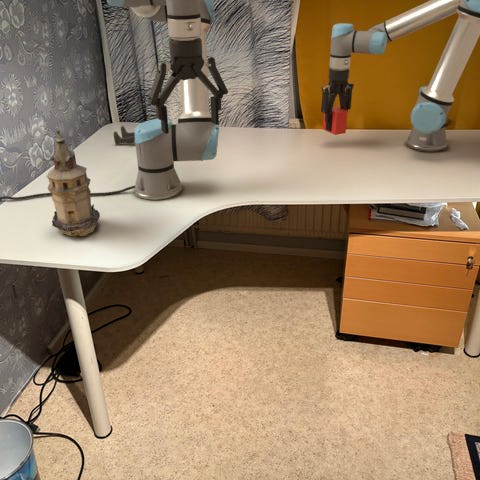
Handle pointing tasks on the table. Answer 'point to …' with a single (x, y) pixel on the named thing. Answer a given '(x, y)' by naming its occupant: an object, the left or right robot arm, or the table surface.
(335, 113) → the block
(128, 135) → the toy
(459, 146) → the table surface
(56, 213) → the miniature building
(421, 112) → the right robot arm
